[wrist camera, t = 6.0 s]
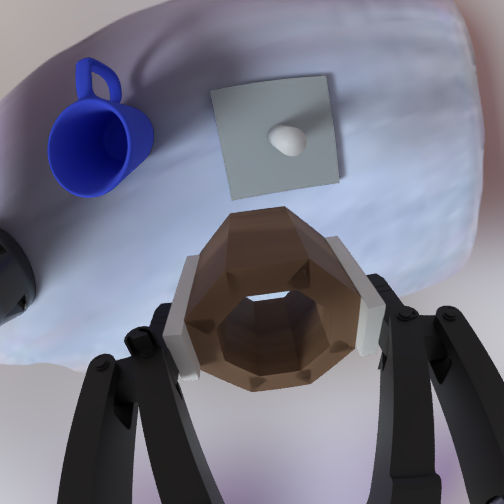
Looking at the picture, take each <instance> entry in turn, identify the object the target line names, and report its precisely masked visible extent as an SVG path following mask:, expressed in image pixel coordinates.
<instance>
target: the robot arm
mask: <svg viewBox="0 0 504 504" xmlns="http://www.w3.org/2000/svg"><path fill="white" fill-rule="evenodd" d="M325 240H326V242H327V243H328V245H329V246H330V248H331V249H332V251H333V252H334V254H335V256H336V257H337V259H338V260H339V262H340V264H341V265H342V267H343V268H344V270H345V272H346V273H347V275H348V277H349V278H350V280H351V281H352V283H353V285H354V286H355V288H356V290H357V291H358V293H359V295H360V296H361V303H360V312H359V321H358V329H357V337H356V347H357V349H358V351H359V353H360V356H361V357H363V356H367V355H371V354H375V353H377V349H378V345H379V346H380V348H381V349H382V355H381V359H380V363H379V367H378V369H380V368H381V377H380V405H379V421H378V434H377V445H376V453H375V462H374V470H373V476H372V483H371V489H370V495H369V498H368V501H367V504H441V489H442V487H441V478H440V476H439V475H438V474H436V472H435V443H434V442H435V439H434V417H433V403H432V392H431V383H430V379H431V381H432V384H433V386H434V389H435V391H436V394H437V397H438V399H439V402H440V404H441V407H442V410H443V413H444V416H445V418H446V421H447V424H448V427H449V430H450V433H451V436H452V439H453V443H454V446H455V449H456V453H457V456H458V460H459V463H460V467H461V471H462V474H463V478H464V482H465V486H466V491H467V494H468V498H469V501H470V504H504V382H503V379H502V378H501V376H500V374H499V372H498V370H497V368H496V367H495V365H494V363H493V361H492V360H491V358H490V356H489V355H488V353H487V351H486V350H485V348H484V346H483V345H482V343H481V341H480V340H479V338H478V337H477V335H476V334H475V332H474V331H473V329H472V327H471V326H470V325H469V323H468V321H467V320H466V318H465V317H464V316H463V314H462V313H461V312H460V311H459V310H458V309H457V308H455V307H452V306H442V307H439V308H438V309H437V312H436V315H419V313H418V312H417V311H416V310H415V309H414V308H411V307H409V306H404V305H403V304H402V302H401V301H400V299H399V298H398V297H397V295H396V294H395V292H394V291H393V290H392V288H391V287H390V286H389V285H388V283H387V282H386V281H385V279H384V278H383V277H381V276H379V275H378V274H370V275H365V273H364V272H363V270H362V269H361V268H360V266H359V265H358V263H357V262H356V261H355V259H354V258H353V256H352V255H351V254H350V252H349V251H348V249H347V248H346V247H345V245H344V244H343V243H342V241H341V240H340V239H339V237H338V236H334V237H326V238H325ZM199 256H200V255H194V256H187V258H186V261H185V264H184V267H183V270H182V273H181V277H180V280H179V283H178V286H177V289H176V292H175V295H174V299H173V302H172V303H163V304H160V306H159V307H158V308H157V309H156V310H155V312H154V315H153V319H152V320H151V324H150V326H149V327H147V326H142V327H137V328H135V329H133V330H131V331H130V332H129V333H128V334H127V335H126V337H125V339H124V342H125V344H126V346H127V348H128V350H129V352H130V354H131V356H130V357H127V358H124V359H120V360H117V361H116V360H115V359H114V357H113V356H112V355H110V354H102V355H99V356H97V357H95V358H94V359H93V360H92V361H91V362H90V364H89V366H88V369H87V372H86V376H85V379H84V382H83V385H82V389H81V393H80V396H79V399H78V403H77V406H76V410H75V414H74V418H73V422H72V426H71V430H70V434H69V439H68V443H67V447H66V453H65V457H64V462H63V468H62V473H61V479H60V486H59V492H58V500H57V504H132V482H133V462H134V449H135V435H136V425H137V415H138V407H139V411H140V416H141V422H142V427H143V432H144V437H145V441H146V446H147V451H148V455H149V459H150V463H151V467H152V471H153V475H154V479H155V482H156V485H157V489H158V493H159V496H160V499H161V503H162V504H225V503H224V501H223V499H222V496H221V494H220V492H219V490H218V487H217V485H216V483H215V481H214V478H213V476H212V473H211V471H210V469H209V466H208V464H207V461H206V459H205V456H204V454H203V452H202V448H201V446H200V443H199V440H198V438H197V435H196V432H195V430H194V427H193V424H192V421H191V418H190V415H189V412H188V409H187V406H186V403H185V400H184V397H183V394H182V391H181V388H180V385H179V383H178V381H177V380H178V374H180V376H181V379H182V380H199V376H200V367H201V366H200V364H199V361H198V358H197V356H196V353H195V350H194V348H193V345H192V342H191V339H190V336H189V334H188V331H187V328H186V325H185V322H184V317H185V313H186V309H187V304H188V300H189V296H190V292H191V288H192V284H193V280H194V276H195V272H196V268H197V264H198V260H199ZM34 297H35V280H34V276H33V272H32V269H31V267H30V264H29V262H28V260H27V258H26V256H25V254H24V253H23V251H22V250H21V248H20V247H19V245H18V244H17V243H16V242H15V241H14V239H13V238H12V237H10V236H9V235H8V234H7V233H6V232H4V231H2V230H1V229H0V326H1V325H3V324H5V323H6V322H8V321H10V320H12V319H14V318H15V317H17V316H19V315H21V314H23V313H24V312H25V311H26V310H27V308H28V307H29V306H30V305H31V303H32V302H33V300H34Z"/></svg>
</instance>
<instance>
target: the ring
mask: <svg viewBox="0 0 504 504" xmlns="http://www.w3.org/2000/svg"><path fill="white" fill-rule="evenodd" d="M284 291H290V292H289V293H288V294H287V295H286V296H285V297H283V298H276V299H269V300H261V301H254V302H253V301H252V300H250V299H248V298H247V296H255V295H262V294H270V293H277V292H284ZM360 303H361V296H360V295H359V293H358V291H357V290H356V288H355V286H354V285H353V283H352V281H351V280H350V278H349V277H348V275H347V273H346V272H345V270H344V268H343V267H342V265H341V264H340V262H339V260H338V259H337V257H336V256H335V254H334V252H333V251H332V249H331V248H330V246H329V245H328V243H327V242H326V240H325V238H324V237H323V236H322V235H321V234H319V233H318V232H317V231H316V230H314V229H313V228H312V227H311V226H309V225H308V224H307V223H306V222H304V221H303V220H302V219H300V218H299V217H298V216H297V215H295V214H294V213H293V212H291V211H290V210H289V209H288V208H286V207H285V206H283V207H275V208H267V209H259V210H252V211H244V212H237V213H230V214H229V216H228V217H227V218H226V220H225V221H224V222H223V223H222V225H221V226H220V227H219V229H218V230H217V231H216V233H215V234H214V235H213V237H212V238H211V239H210V240H209V242H208V243H207V244H206V246H205V247H204V248H203V250H202V251H201V252H200V256H199V260H198V264H197V268H196V272H195V276H194V280H193V284H192V288H191V292H190V296H189V300H188V304H187V309H186V313H185V317H184V322H185V325H186V328H187V331H188V334H189V336H190V339H191V342H192V345H193V348H194V350H195V353H196V356H197V358H198V361H199V364H200V366H201V367H200V369H201V370H202V371H204V372H206V373H209V374H211V375H213V376H215V377H218V378H220V379H222V380H224V381H226V382H229V383H231V384H233V385H236V386H238V387H241V388H243V389H246V390H248V391H251V392H257V391H266V390H274V389H281V388H288V387H294V386H301V385H307V384H311V383H312V382H314V381H315V380H317V379H318V378H319V377H320V376H322V375H323V374H324V373H325V372H327V371H328V370H329V369H331V368H332V367H333V366H334V365H336V364H337V363H338V362H339V361H340V360H342V359H343V358H344V357H345V356H346V355H348V354H349V353H350V352H351V351H353V350H354V349H355V344H356V337H357V329H358V321H359V312H360Z"/></svg>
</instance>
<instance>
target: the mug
mask: <svg viewBox="0 0 504 504" xmlns="http://www.w3.org/2000/svg"><path fill="white" fill-rule="evenodd" d="M91 71H92V72H95V73H97V74H98V75H100V76H101V77H102V78H103V79H104V80H105V81H106V82H107V84H108V87H109V91H110V101H109V100H105V99H101V98H99V97H97V96H96V95H95V94H94V92H93V88H92V75H91ZM76 90H77V95H78V101H77V102H75V103H73V104H71V105H70V106H68V107H67V108H66V109H65V110H64V111H63V112H62V113H61V114H60V115H59V116H58V118H57V119H56V121H55V123H54V125H53V127H52V129H51V132H50V135H49V140H48V160H49V165H50V168H51V170H52V173H53V175H54V177H55V178H56V180H57V181H58V183H59V184H60V185H61V186H62V187H63V188H64V189H66V190H67V191H68V192H70V193H72V194H74V195H76V196H80V197H86V198H91V197H97V196H101V195H104V194H106V193H108V192H109V191H111V190H112V189H114V188H115V187H116V186H117V185H118V184H119V183H120V182H121V181H122V180H123V179H124V178H126V177H127V176H128V175H129V174H130V173H131V172H132V171H133V170H134V169H135V168H136V167H137V166H139V165H140V164H141V163H142V162H143V161H144V160H145V159H146V157H147V156H148V154H149V153H150V151H151V148H152V145H153V140H154V131H153V127H152V124H151V122H150V120H149V119H148V117H147V116H146V115H145V114H144V113H143V112H142V111H140V110H138V109H136V108H134V107H131V106H127V105H124V104H120V102H121V97H122V91H121V85H120V81H119V78H118V77H117V75H116V74H115V72H114V71H113V70H112V69H110V68H109V67H108V66H106V65H104V64H103V63H101V62H99V61H97V60H95V59H93V58H89V57H88V58H84V59H82V60H79V61H78V62H77V64H76Z"/></svg>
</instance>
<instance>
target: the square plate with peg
mask: <svg viewBox="0 0 504 504" xmlns="http://www.w3.org/2000/svg"><path fill="white" fill-rule="evenodd" d="M210 94H211V99H212V104H213V109H214V114H215V119H216V124H217V129H218V134H219V139H220V144H221V149H222V154H223V159H224V164H225V169H226V174H227V179H228V184H229V189H230V194H231V198H232V201H233V200H238V199H243V198H249V197H254V196H260V195H265V194H271V193H277V192H283V191H289V190H295V189H301V188H308V187H314V186H321V185H328V184H335V183H340V182H339V170H338V160H337V150H336V142H335V133H334V125H333V118H332V111H331V104H330V98H329V91H328V85H327V79H326V76H314V77H300V78H289V79H280V80H271V81H263V82H256V83H250V84H243V85H237V86H232V87H226V88H221V89H216V90H211V91H210Z"/></svg>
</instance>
